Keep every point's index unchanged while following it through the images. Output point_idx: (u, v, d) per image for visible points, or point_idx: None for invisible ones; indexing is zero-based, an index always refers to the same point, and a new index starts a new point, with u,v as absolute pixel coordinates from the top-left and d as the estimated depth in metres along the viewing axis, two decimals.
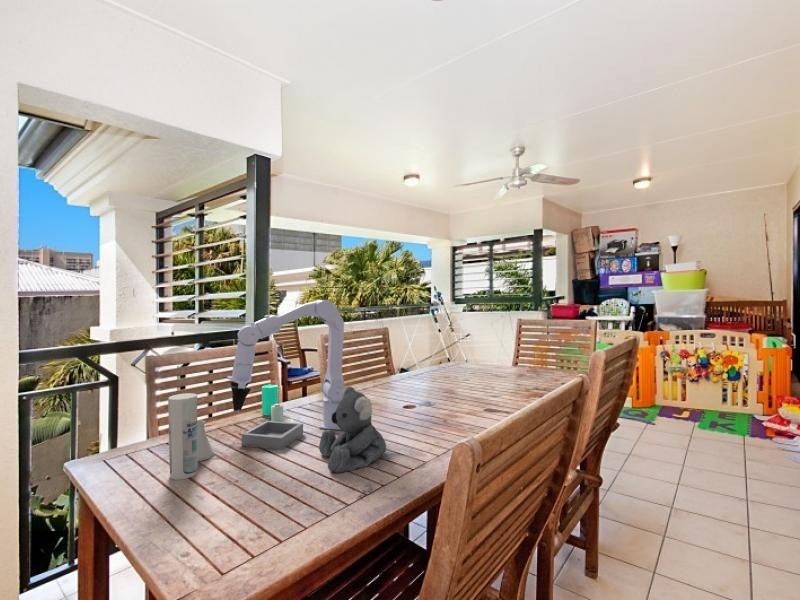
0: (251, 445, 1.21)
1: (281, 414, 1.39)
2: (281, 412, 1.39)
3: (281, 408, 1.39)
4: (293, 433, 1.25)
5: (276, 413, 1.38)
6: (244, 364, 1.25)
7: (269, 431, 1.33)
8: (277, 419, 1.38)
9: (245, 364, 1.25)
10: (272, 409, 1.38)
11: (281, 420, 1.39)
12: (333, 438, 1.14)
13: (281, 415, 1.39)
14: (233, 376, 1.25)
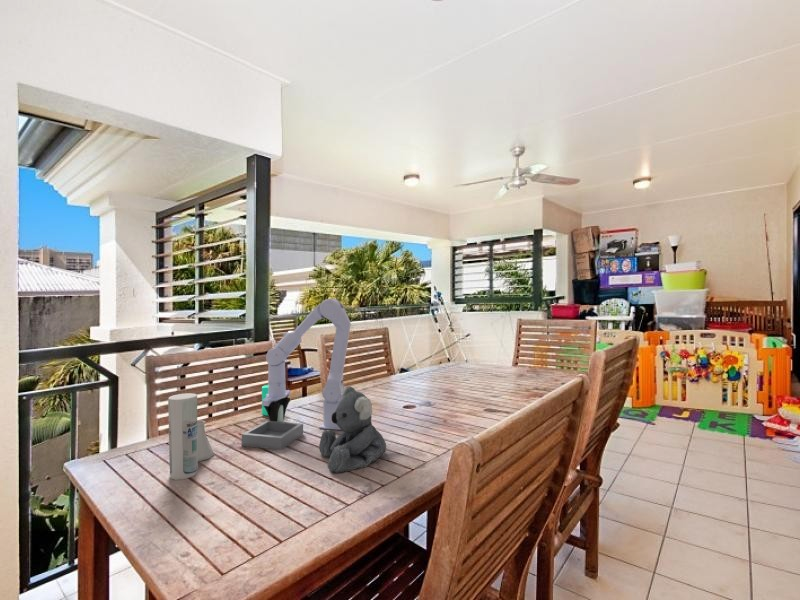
0: (251, 445, 1.21)
1: (281, 414, 1.39)
2: (281, 412, 1.39)
3: (281, 408, 1.39)
4: (293, 433, 1.25)
5: None
6: (274, 383, 1.37)
7: (269, 431, 1.33)
8: None
9: (275, 383, 1.37)
10: None
11: (281, 420, 1.39)
12: (333, 438, 1.14)
13: (281, 415, 1.39)
14: (268, 394, 1.39)
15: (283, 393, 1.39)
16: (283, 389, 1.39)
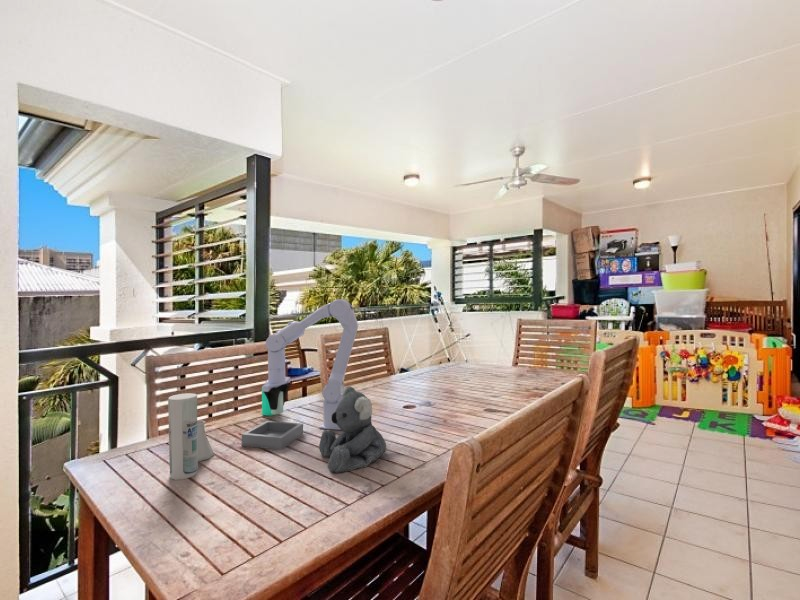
0: (251, 445, 1.21)
1: (281, 400, 1.39)
2: (281, 398, 1.39)
3: (281, 394, 1.39)
4: (293, 433, 1.25)
5: None
6: (274, 369, 1.37)
7: (269, 431, 1.33)
8: None
9: (275, 369, 1.37)
10: None
11: (281, 406, 1.39)
12: (333, 438, 1.14)
13: (281, 401, 1.39)
14: (268, 380, 1.39)
15: (283, 379, 1.39)
16: (283, 375, 1.38)
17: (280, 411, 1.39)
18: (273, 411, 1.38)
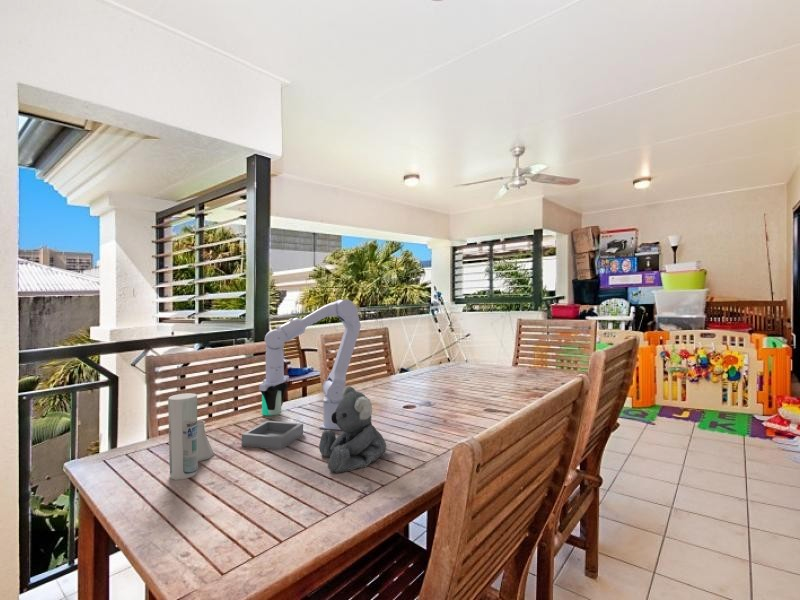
0: (251, 445, 1.21)
1: (279, 400, 1.32)
2: (279, 398, 1.32)
3: (279, 394, 1.32)
4: (293, 433, 1.25)
5: None
6: (275, 367, 1.30)
7: (269, 431, 1.33)
8: (275, 405, 1.31)
9: (276, 367, 1.30)
10: None
11: (279, 406, 1.32)
12: (333, 438, 1.14)
13: (279, 401, 1.32)
14: (265, 379, 1.32)
15: (281, 378, 1.31)
16: (281, 374, 1.31)
17: (278, 411, 1.32)
18: (270, 411, 1.31)
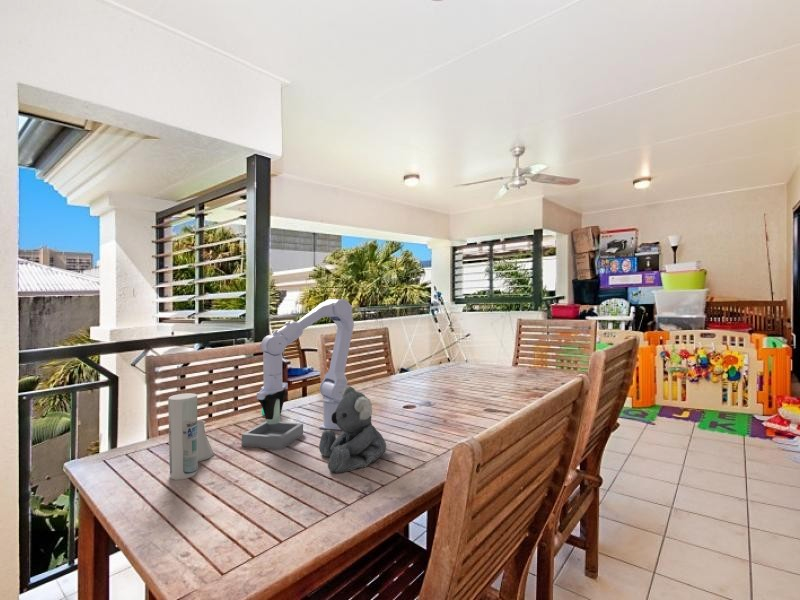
0: (251, 445, 1.21)
1: (277, 409, 1.26)
2: (277, 407, 1.26)
3: (277, 402, 1.26)
4: (293, 433, 1.25)
5: None
6: (276, 374, 1.24)
7: (269, 431, 1.33)
8: None
9: (277, 374, 1.24)
10: None
11: (277, 415, 1.26)
12: (333, 438, 1.14)
13: (277, 410, 1.26)
14: (263, 387, 1.26)
15: (280, 386, 1.25)
16: (280, 381, 1.25)
17: (276, 421, 1.25)
18: (268, 421, 1.25)
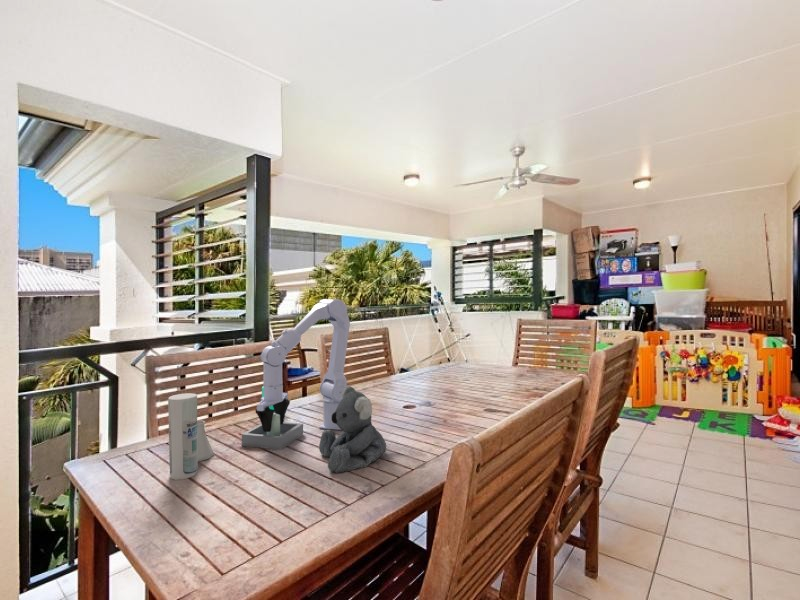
0: (251, 445, 1.21)
1: (277, 425, 1.26)
2: (278, 422, 1.26)
3: (278, 418, 1.26)
4: (293, 433, 1.25)
5: (272, 423, 1.25)
6: (276, 385, 1.24)
7: None
8: (273, 430, 1.25)
9: (277, 385, 1.25)
10: None
11: (278, 431, 1.26)
12: (333, 438, 1.14)
13: (278, 426, 1.26)
14: (263, 398, 1.26)
15: (280, 396, 1.25)
16: (280, 392, 1.25)
17: None
18: None
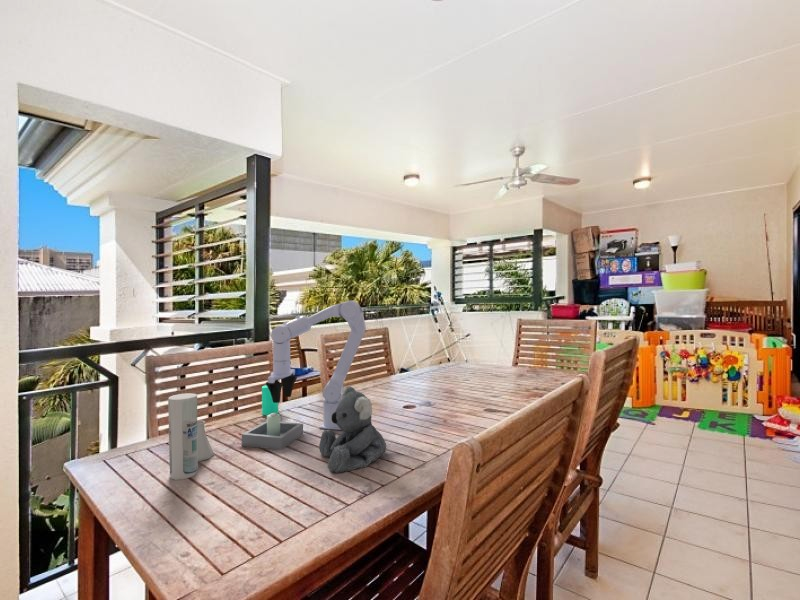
0: (251, 445, 1.21)
1: (277, 425, 1.26)
2: (278, 422, 1.26)
3: (278, 418, 1.26)
4: (293, 433, 1.25)
5: (272, 423, 1.25)
6: (279, 361, 1.36)
7: None
8: (273, 430, 1.25)
9: (280, 360, 1.36)
10: (268, 419, 1.25)
11: (278, 431, 1.26)
12: (333, 438, 1.14)
13: (278, 426, 1.26)
14: (273, 372, 1.38)
15: (288, 371, 1.38)
16: (288, 367, 1.38)
17: None
18: None
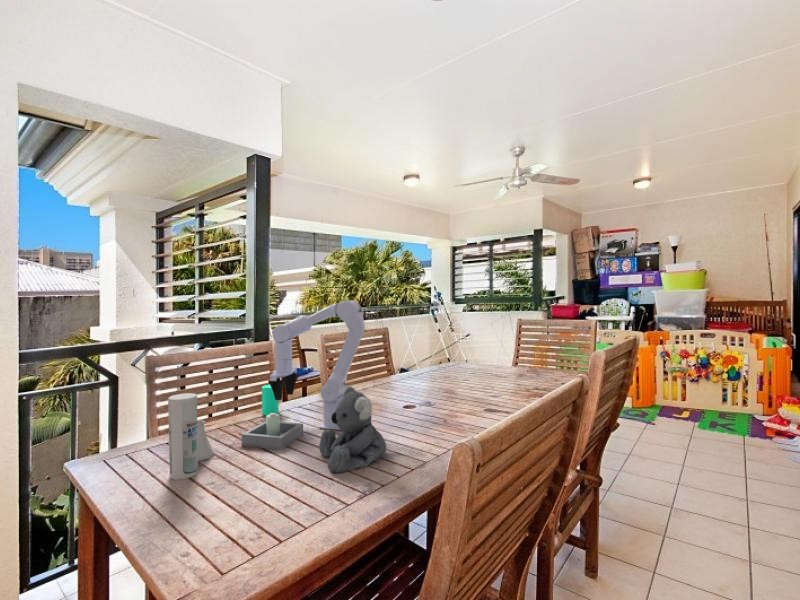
0: (251, 445, 1.21)
1: (277, 425, 1.26)
2: (277, 422, 1.26)
3: (277, 418, 1.26)
4: (293, 433, 1.25)
5: (271, 423, 1.25)
6: (280, 359, 1.39)
7: None
8: (273, 430, 1.25)
9: (281, 359, 1.39)
10: (267, 419, 1.25)
11: (278, 431, 1.26)
12: (333, 438, 1.14)
13: (277, 425, 1.26)
14: (275, 370, 1.42)
15: (290, 369, 1.41)
16: (290, 365, 1.41)
17: None
18: None
